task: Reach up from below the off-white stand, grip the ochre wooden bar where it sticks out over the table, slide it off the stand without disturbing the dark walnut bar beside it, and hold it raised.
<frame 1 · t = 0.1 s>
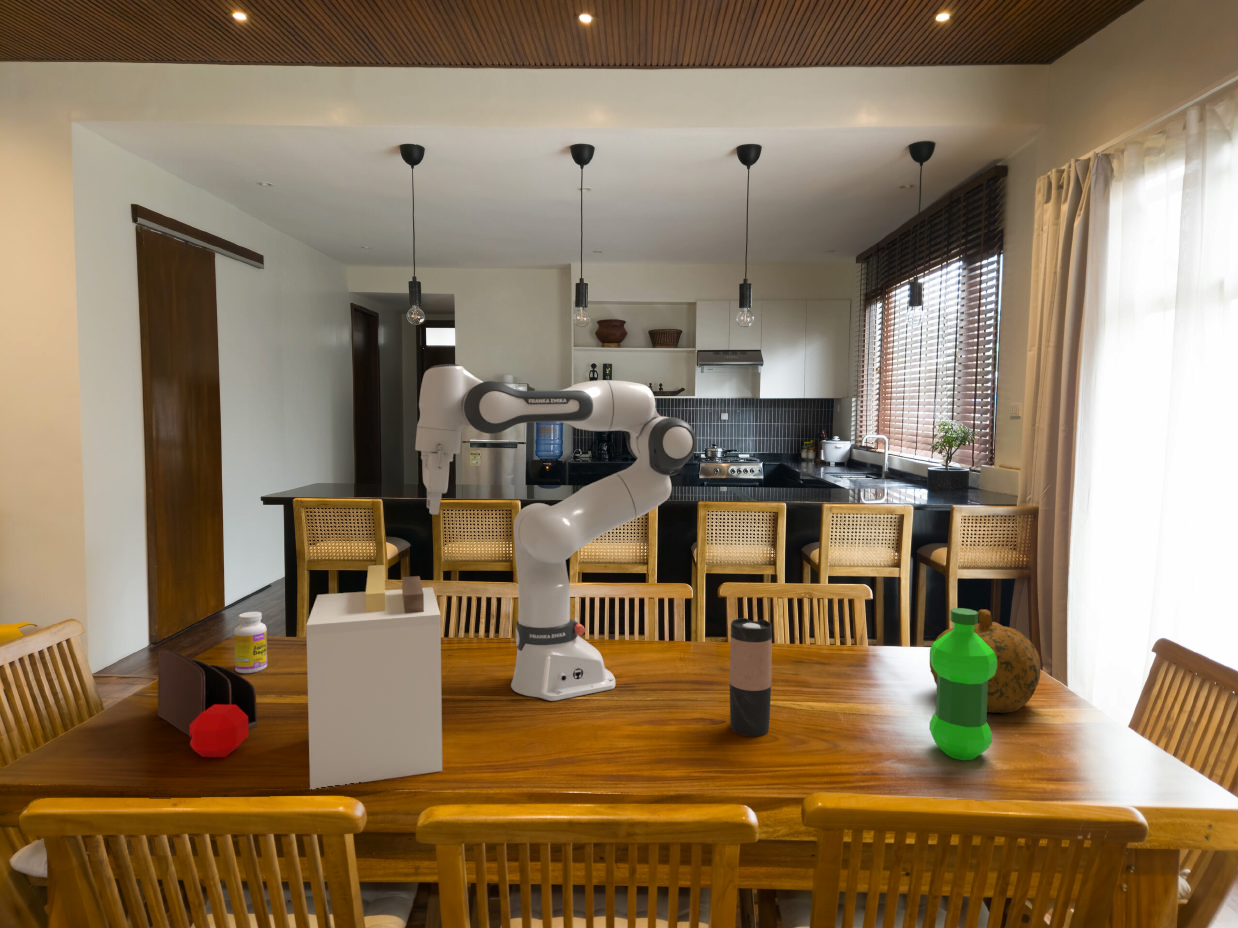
hand: (432, 511, 147), 39 cm above the table, fingers open, 8 cm apart
walnut bar: (412, 602, 125), point 26 cm above the table, touching off-white stand
supplement bottle: (251, 670, 166), on the table
ball: (220, 753, 125), on the table
decorative pumpkin: (983, 703, 148), on the table
plastic bottle: (959, 754, 126), on the table
off-white stand: (378, 752, 125), on the table
letter holder: (207, 723, 138), on the table
ochre bar: (376, 594, 130), point 26 cm above the table, touching off-white stand
travel mug: (749, 729, 135), on the table
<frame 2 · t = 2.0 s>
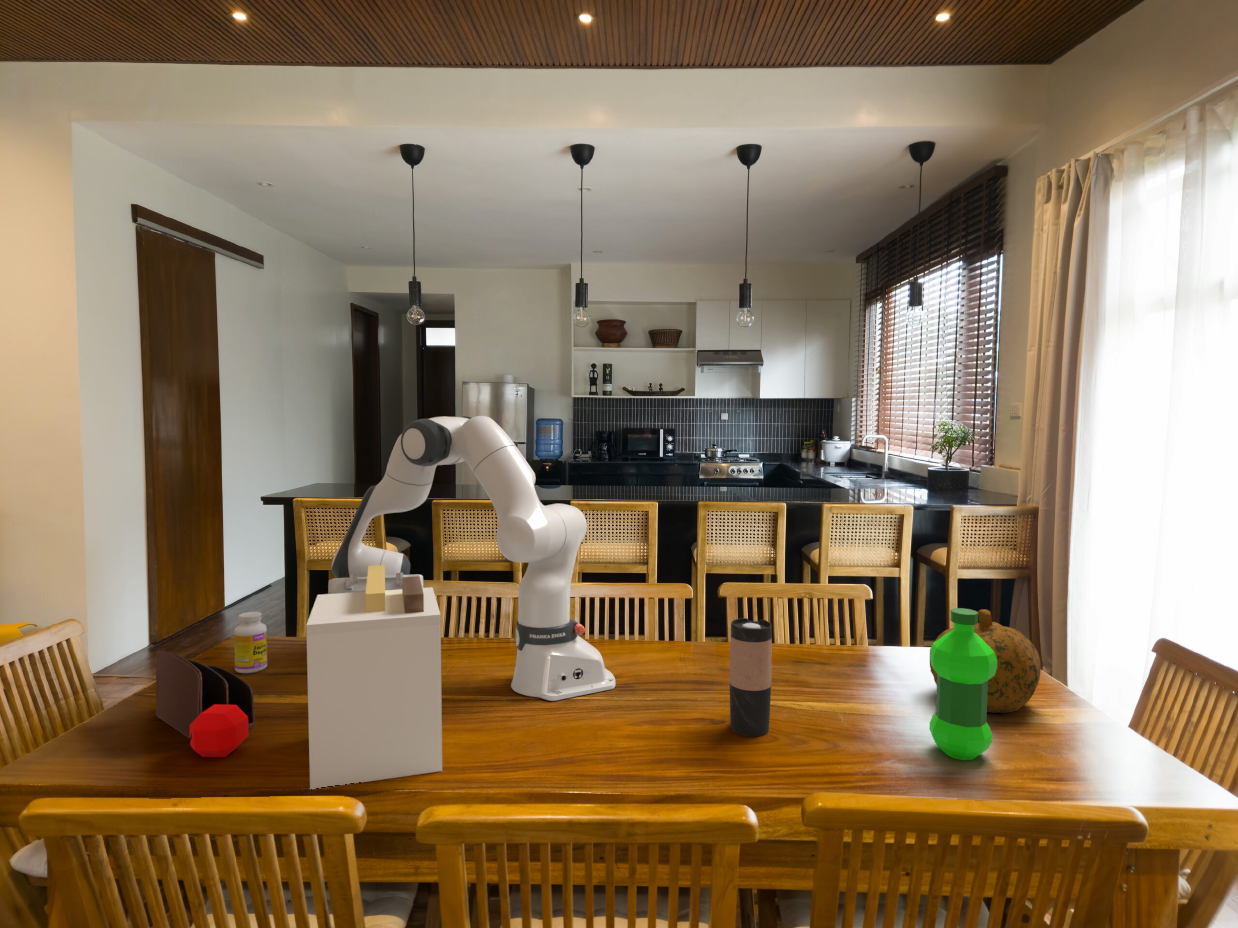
hand: (376, 577, 157), 23 cm above the table, fingers open, 8 cm apart
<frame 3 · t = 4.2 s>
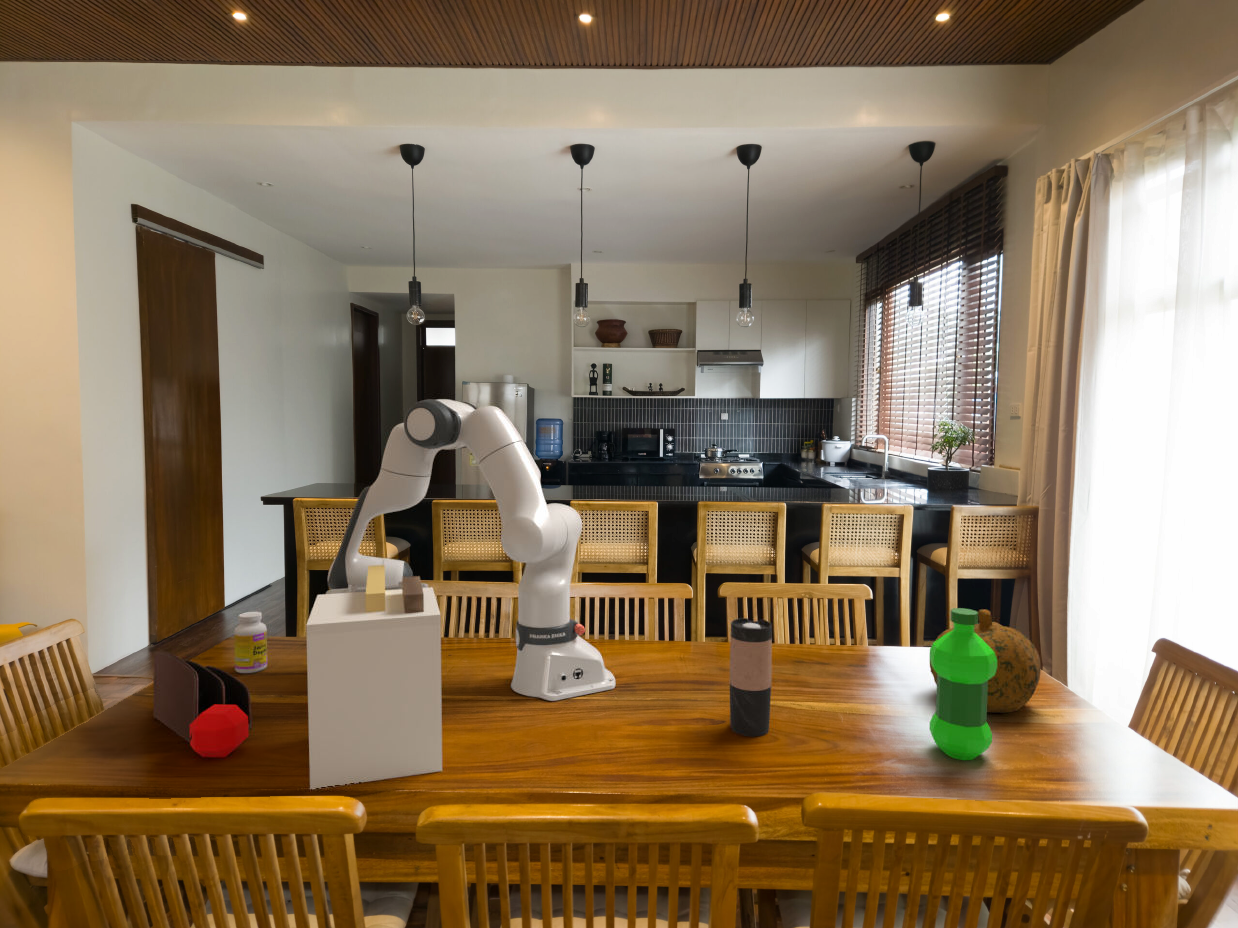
hand: (377, 586, 144), 24 cm above the table, fingers open, 8 cm apart
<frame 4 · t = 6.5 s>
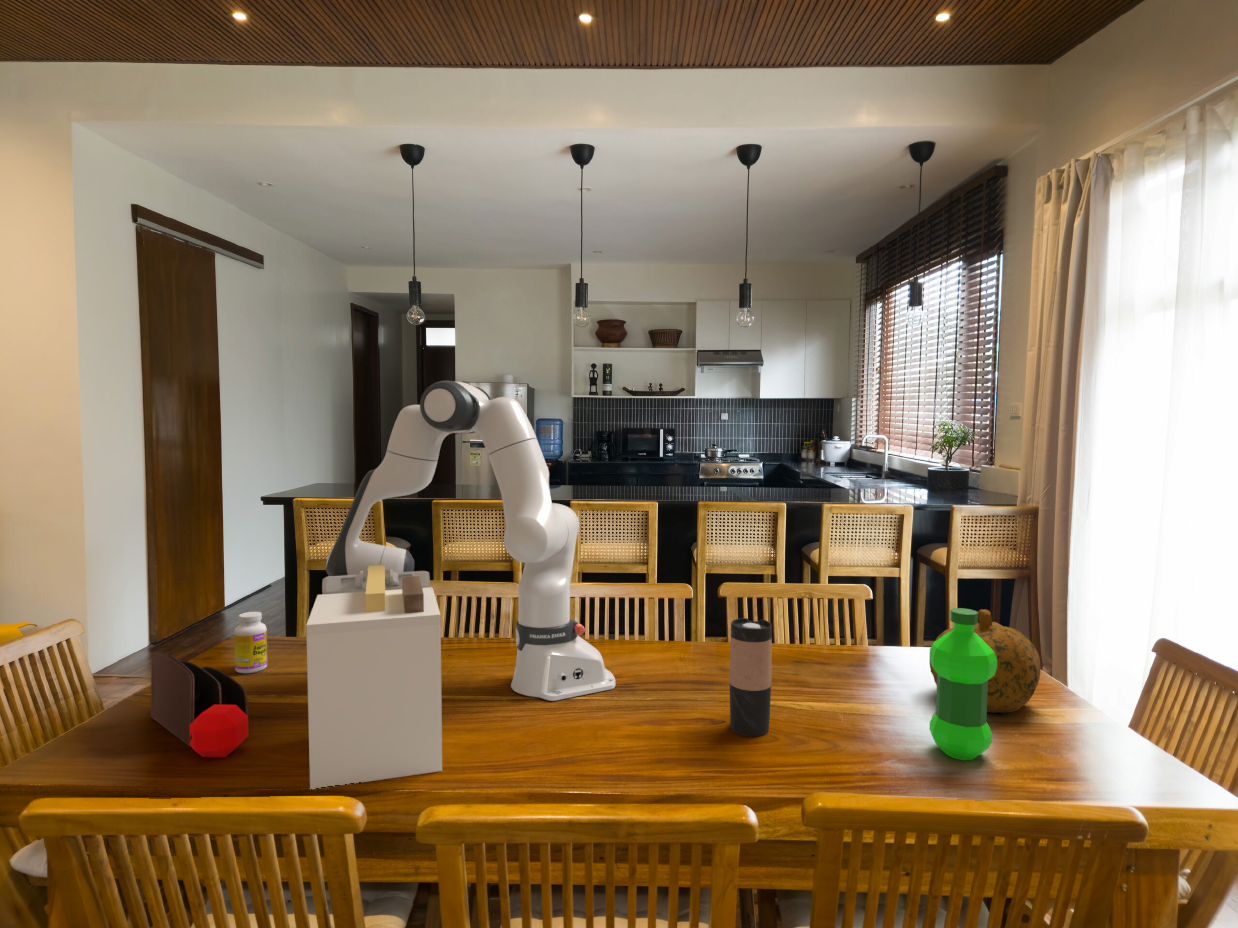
hand: (376, 573, 138), 28 cm above the table, fingers closed on ochre bar, 3 cm apart
ochre bar: (376, 594, 130), point 26 cm above the table, touching gripper, off-white stand
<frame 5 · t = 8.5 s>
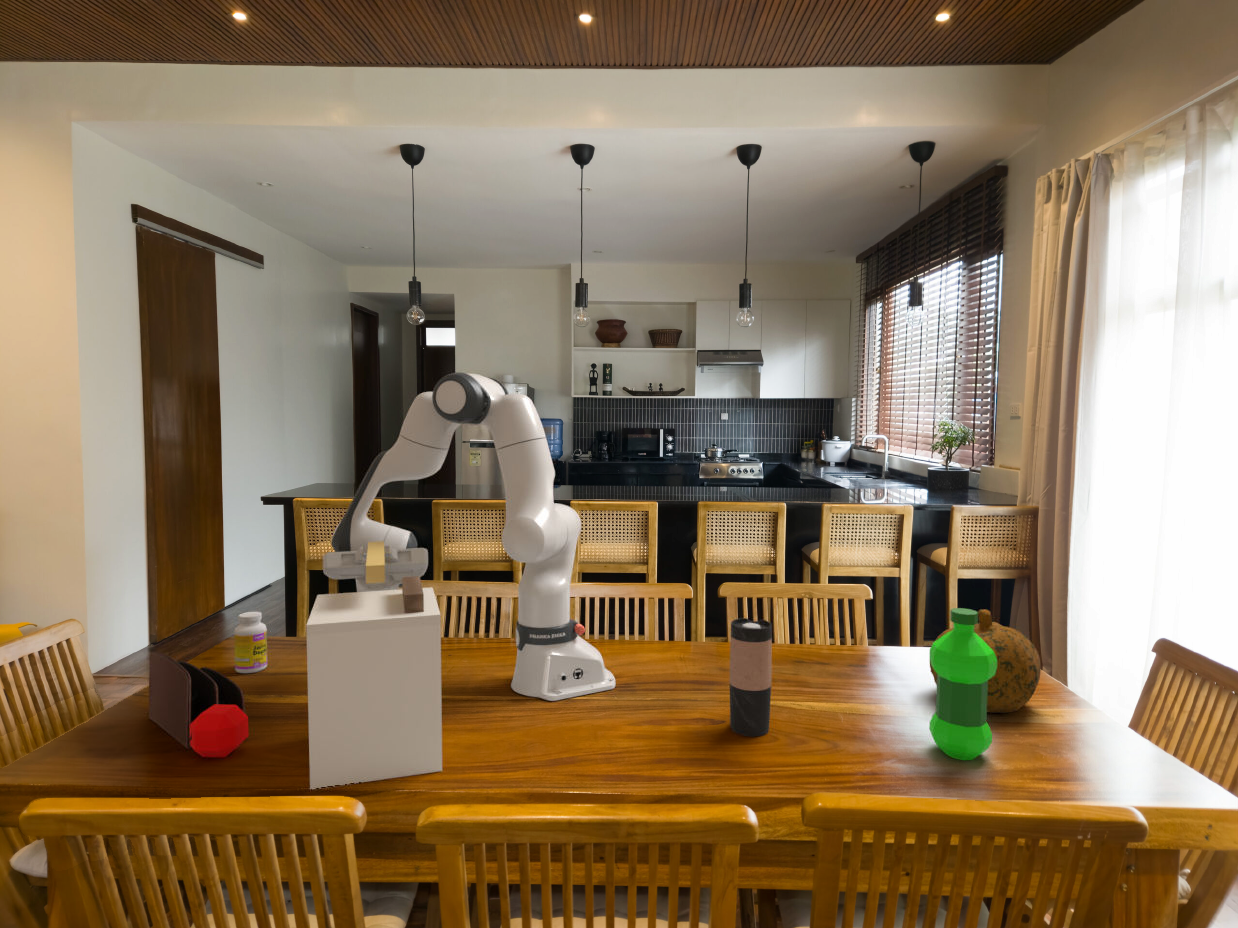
hand: (376, 549, 141), 32 cm above the table, fingers closed on ochre bar, 3 cm apart
ochre bar: (376, 568, 133), point 30 cm above the table, touching gripper
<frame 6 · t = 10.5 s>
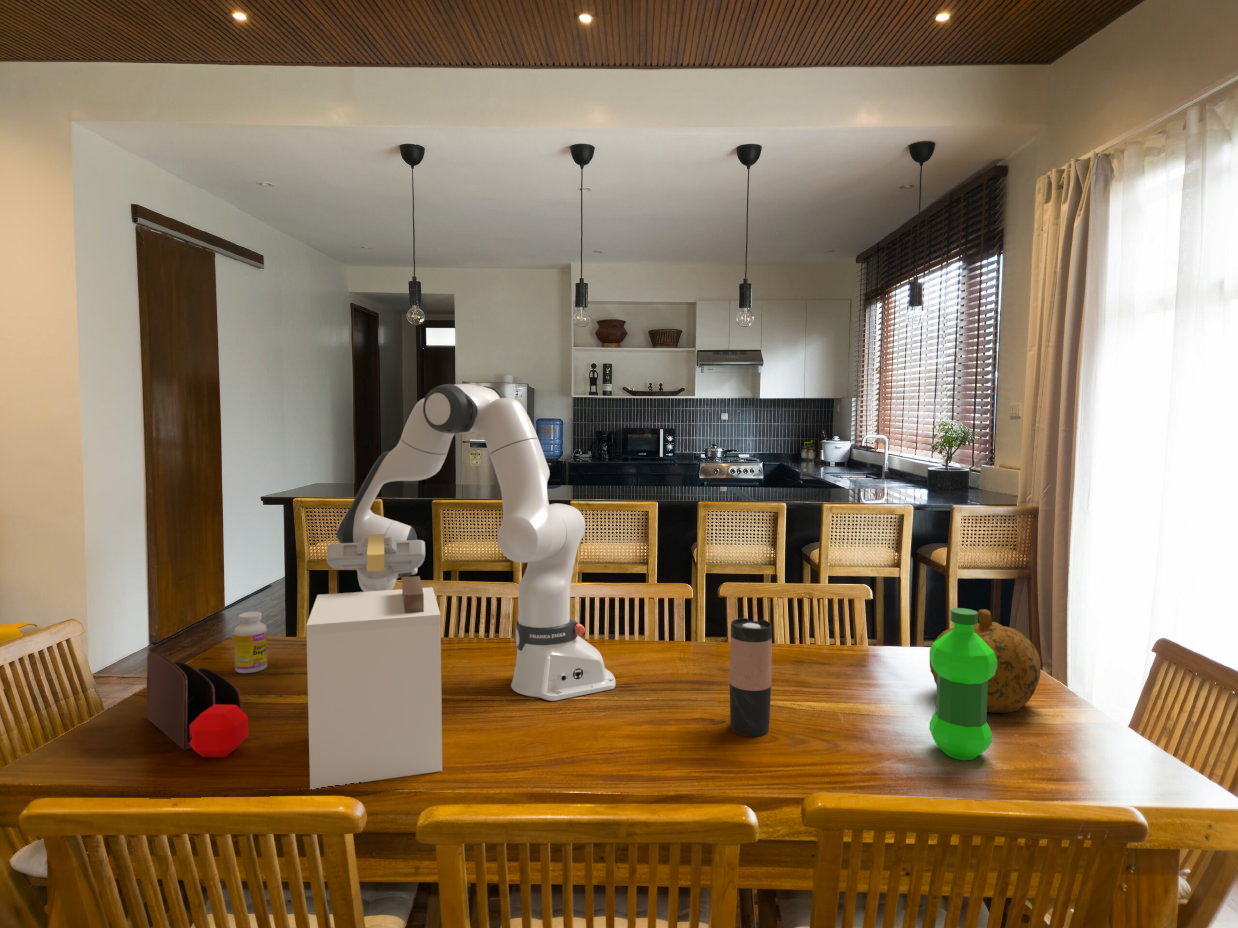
hand: (376, 541, 151), 32 cm above the table, fingers closed on ochre bar, 3 cm apart
ochre bar: (376, 558, 143), point 30 cm above the table, touching gripper
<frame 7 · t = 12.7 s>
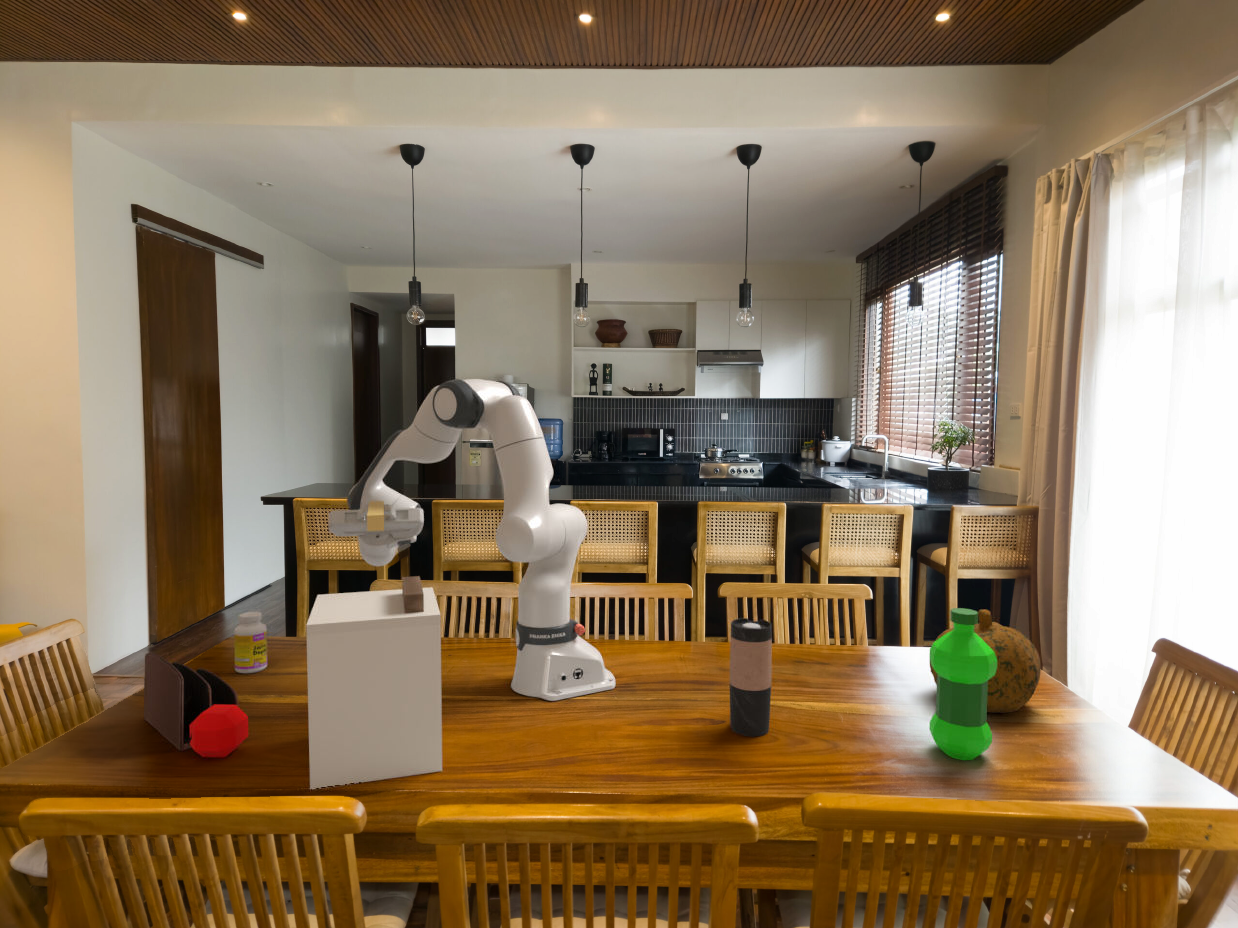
hand: (376, 507, 156), 38 cm above the table, fingers closed on ochre bar, 3 cm apart
ochre bar: (376, 522, 148), point 36 cm above the table, touching gripper
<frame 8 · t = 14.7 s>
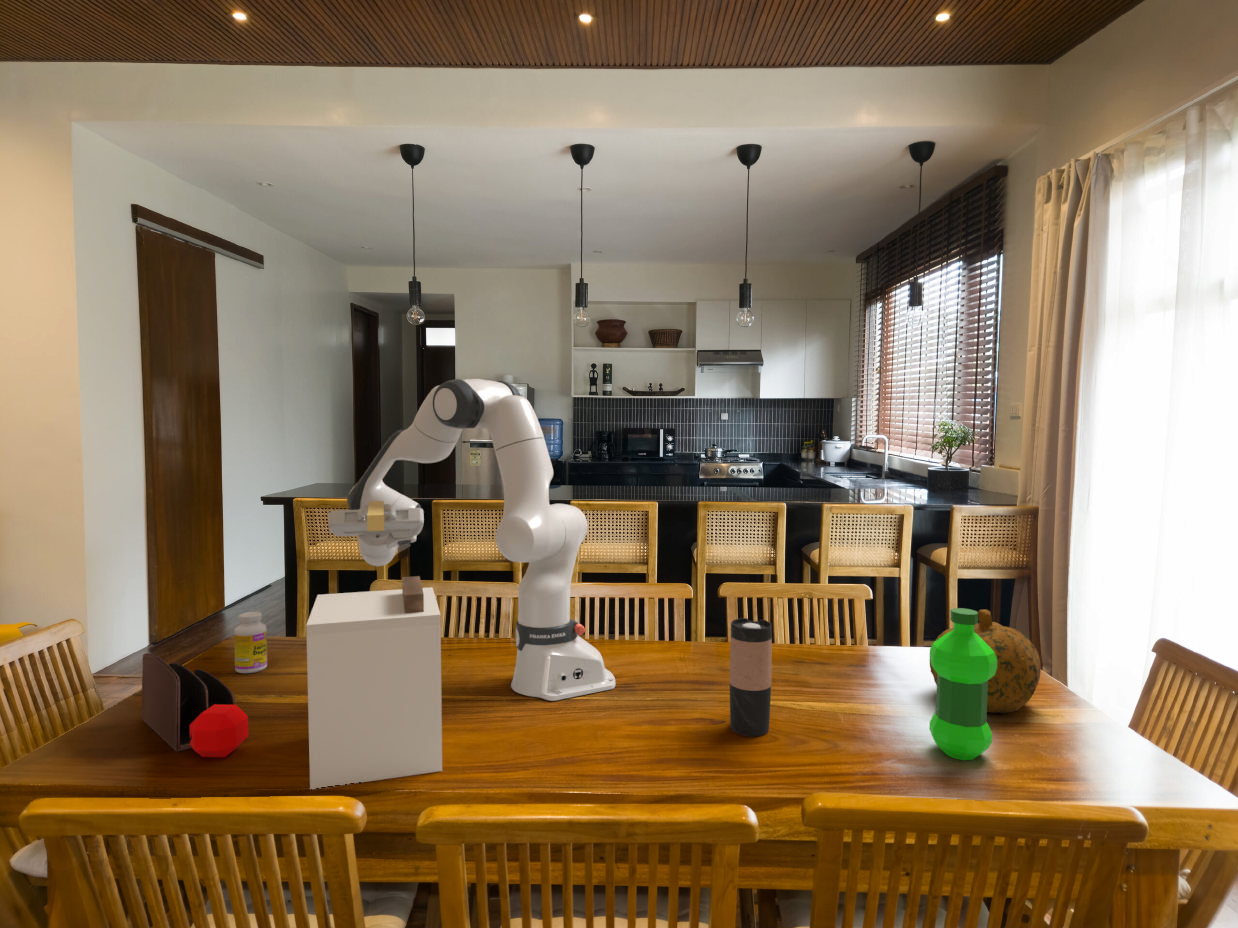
hand: (376, 507, 156), 38 cm above the table, fingers closed on ochre bar, 3 cm apart
ochre bar: (376, 522, 148), point 36 cm above the table, touching gripper
at the end: the gripper is holding ochre bar; ochre bar inside the target area (3.5 cm from its centre), point 36.4 cm above the table; walnut bar moved 0.0 cm from its start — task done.
